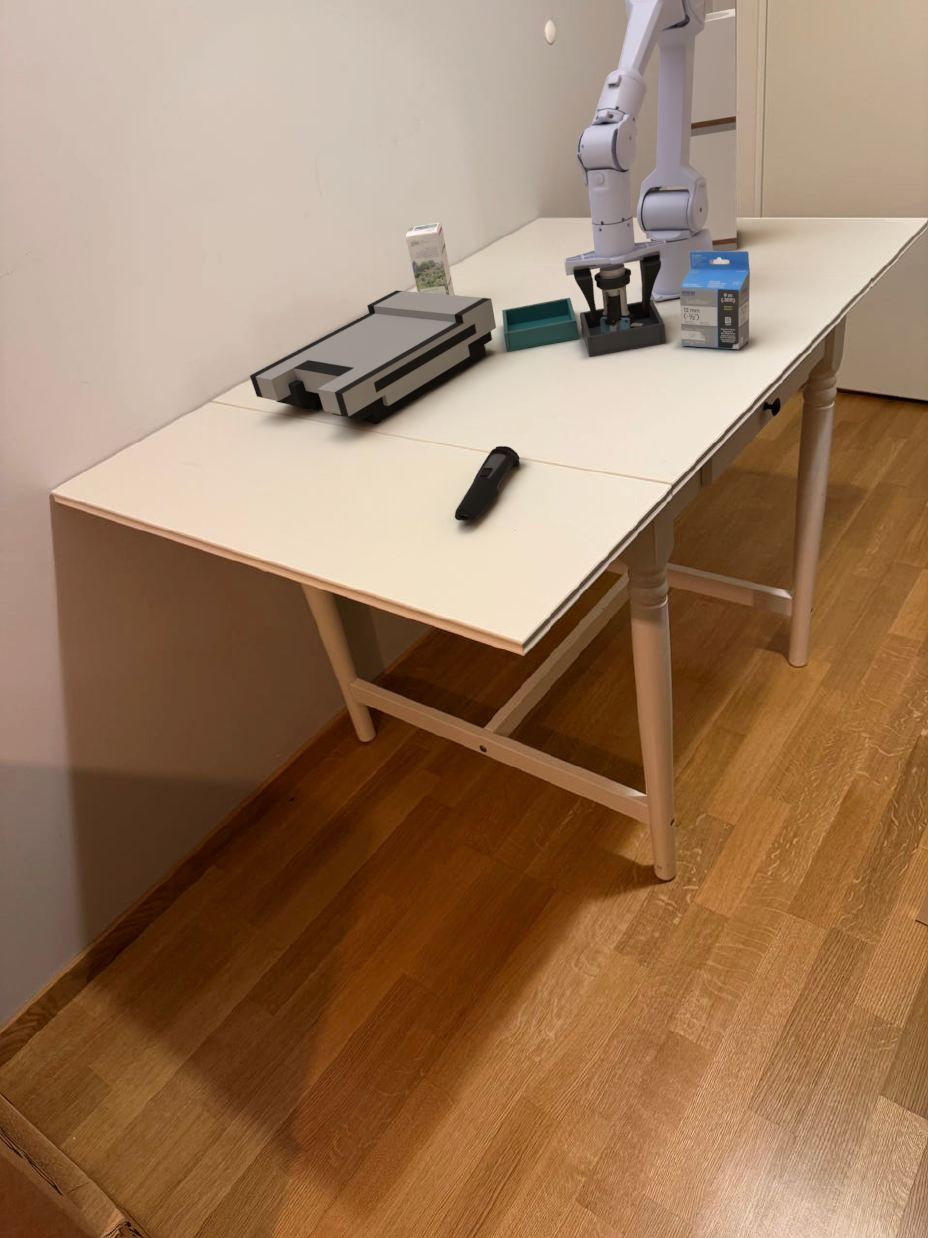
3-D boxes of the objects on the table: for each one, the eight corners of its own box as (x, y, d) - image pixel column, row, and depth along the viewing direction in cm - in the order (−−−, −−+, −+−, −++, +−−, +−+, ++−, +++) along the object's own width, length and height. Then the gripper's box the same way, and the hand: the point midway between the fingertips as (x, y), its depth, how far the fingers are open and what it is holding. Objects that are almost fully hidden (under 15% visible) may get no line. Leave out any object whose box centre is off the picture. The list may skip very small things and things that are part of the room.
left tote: (572, 314, 149) (570, 297, 147) (578, 338, 140) (576, 320, 138) (504, 327, 150) (502, 309, 148) (507, 351, 141) (504, 333, 140)
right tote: (653, 317, 141) (652, 299, 139) (665, 342, 132) (664, 323, 130) (581, 330, 142) (579, 312, 141) (589, 356, 133) (587, 337, 132)
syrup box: (457, 303, 165) (441, 220, 156) (453, 314, 160) (437, 229, 152) (426, 308, 166) (409, 225, 157) (422, 319, 161) (404, 235, 153)
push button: (649, 327, 137) (645, 260, 131) (634, 341, 134) (629, 273, 128) (609, 326, 140) (603, 260, 135) (594, 339, 137) (587, 273, 131)
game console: (264, 418, 138) (247, 367, 133) (407, 338, 155) (396, 290, 150) (355, 440, 125) (339, 385, 120) (500, 350, 142) (491, 298, 137)
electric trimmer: (448, 531, 101) (442, 507, 99) (494, 462, 112) (490, 439, 110) (479, 533, 100) (474, 508, 98) (523, 462, 111) (519, 439, 109)
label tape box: (680, 346, 130) (676, 259, 123) (692, 335, 132) (689, 249, 125) (738, 351, 125) (738, 260, 118) (750, 339, 127) (751, 250, 120)
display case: (736, 231, 168) (735, 8, 147) (736, 249, 160) (735, 15, 139) (673, 239, 171) (663, 22, 150) (670, 257, 163) (659, 30, 142)
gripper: (563, 235, 125) (574, 331, 133) (669, 215, 123) (673, 313, 131) (559, 223, 130) (570, 315, 138) (660, 203, 129) (665, 298, 137)
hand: (620, 313), depth 135 cm, fingers open, 7 cm apart
